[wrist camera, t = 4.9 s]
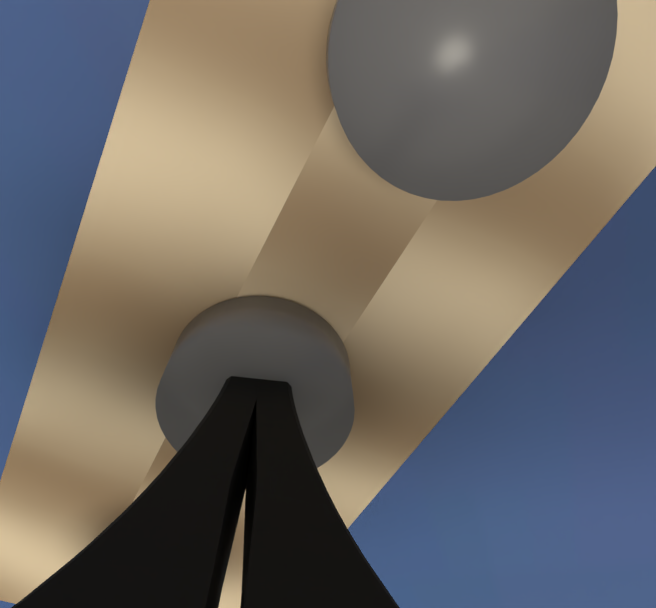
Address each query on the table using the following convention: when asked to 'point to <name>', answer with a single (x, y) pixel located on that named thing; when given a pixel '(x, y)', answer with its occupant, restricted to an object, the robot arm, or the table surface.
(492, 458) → the table surface
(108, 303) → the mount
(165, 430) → the plunger
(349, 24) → the plunger
